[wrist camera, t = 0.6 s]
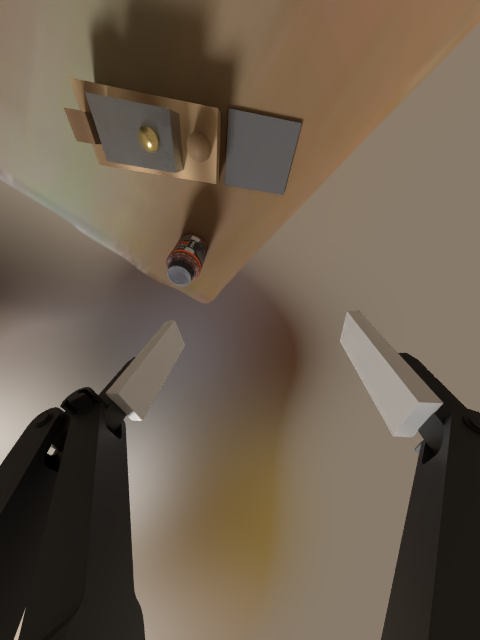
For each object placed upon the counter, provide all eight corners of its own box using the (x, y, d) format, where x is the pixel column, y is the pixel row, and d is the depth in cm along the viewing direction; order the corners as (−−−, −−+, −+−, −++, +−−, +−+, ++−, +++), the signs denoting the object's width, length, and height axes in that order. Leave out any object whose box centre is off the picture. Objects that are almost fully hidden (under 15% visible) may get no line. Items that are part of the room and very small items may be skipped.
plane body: (116, 162, 26) (82, 167, 21) (94, 87, 21) (42, 67, 16) (219, 179, 28) (213, 188, 22) (221, 113, 23) (214, 103, 17)
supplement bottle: (192, 226, 33) (176, 252, 25) (213, 250, 36) (204, 279, 28) (172, 244, 36) (153, 273, 28) (194, 265, 39) (182, 296, 31)
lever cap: (107, 99, 19) (81, 90, 16) (179, 113, 20) (167, 108, 17) (123, 159, 23) (104, 161, 20) (183, 169, 24) (174, 173, 20)
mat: (228, 108, 22) (228, 108, 22) (301, 123, 23) (301, 123, 23) (224, 184, 28) (224, 184, 28) (282, 194, 29) (283, 194, 29)
